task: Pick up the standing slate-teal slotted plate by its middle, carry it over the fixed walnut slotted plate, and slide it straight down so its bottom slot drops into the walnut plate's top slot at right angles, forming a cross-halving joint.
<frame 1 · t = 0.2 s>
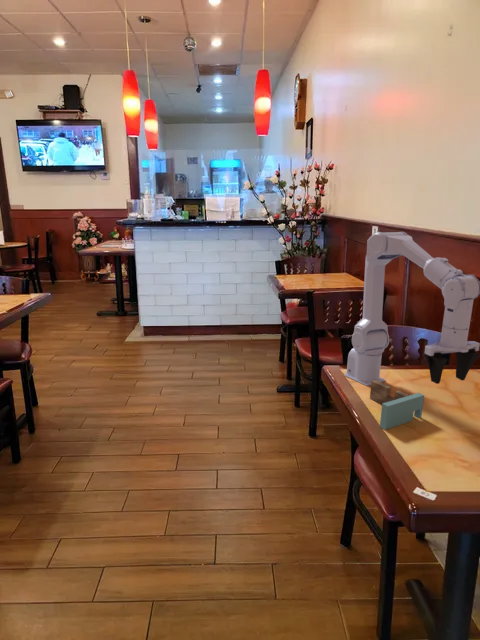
hand: (447, 380, 111), 10 cm above the table, fingers open, 7 cm apart
teal slotted plate: (401, 422, 110), on the table
walnut slotted plate: (387, 405, 119), on the table
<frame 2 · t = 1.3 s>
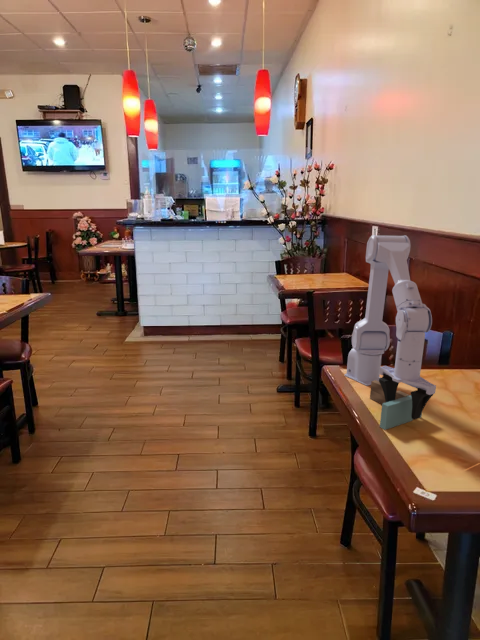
hand: (402, 411, 110), 3 cm above the table, fingers open, 7 cm apart
nothing on the table moved.
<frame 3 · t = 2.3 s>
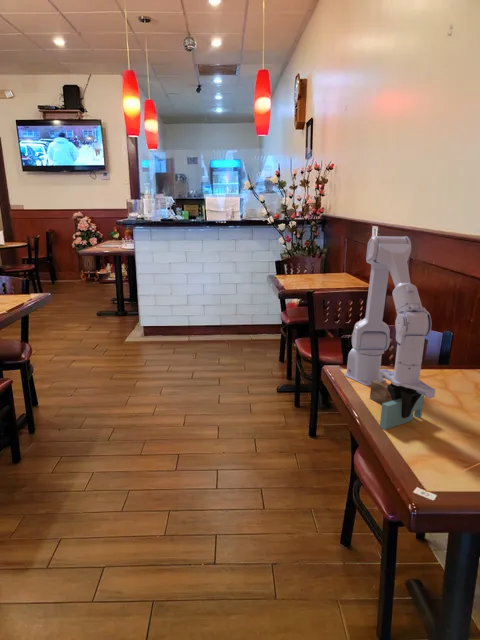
hand: (401, 414, 110), 2 cm above the table, fingers closed on teal slotted plate, 2 cm apart
teal slotted plate: (401, 422, 110), on the table, touching gripper
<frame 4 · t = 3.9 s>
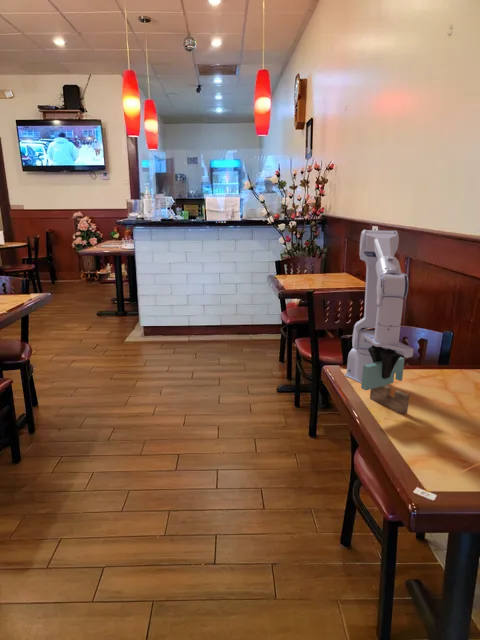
hand: (382, 376, 114), 9 cm above the table, fingers closed on teal slotted plate
teal slotted plate: (382, 384, 114), point 7 cm above the table, touching gripper
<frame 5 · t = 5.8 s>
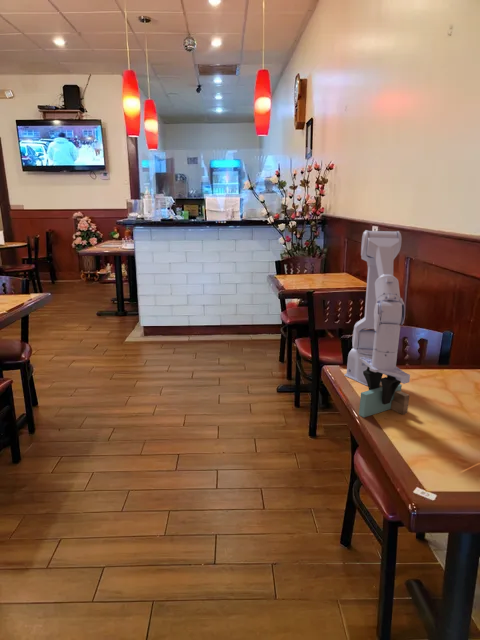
hand: (379, 400, 115), 3 cm above the table, fingers open, 3 cm apart
teal slotted plate: (379, 410, 116), on the table, touching walnut slotted plate
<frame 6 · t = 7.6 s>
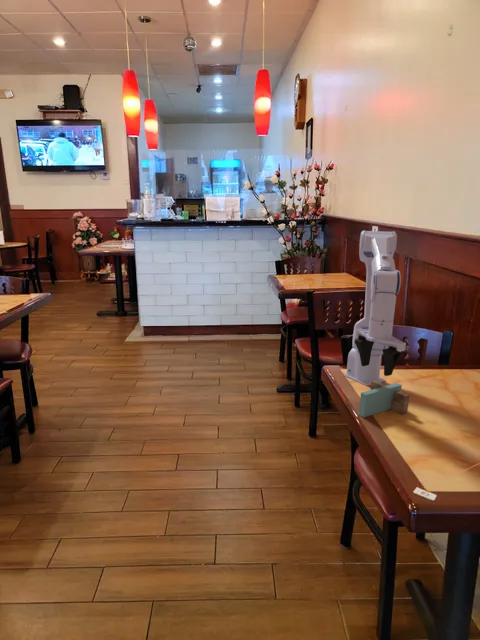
hand: (376, 370, 117), 10 cm above the table, fingers open, 7 cm apart
nothing on the table moved.
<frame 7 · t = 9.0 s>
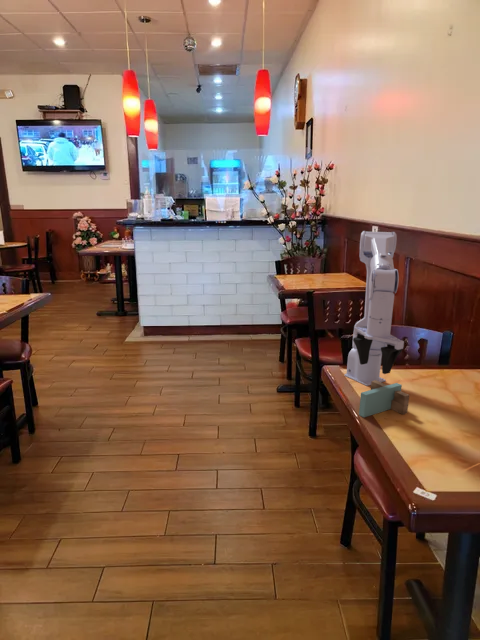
hand: (374, 368, 118), 10 cm above the table, fingers open, 7 cm apart
nothing on the table moved.
at the end: teal slotted plate 0.3 cm from the target spot, on the table; teal slotted plate tilted 0°; the gripper is holding nothing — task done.
